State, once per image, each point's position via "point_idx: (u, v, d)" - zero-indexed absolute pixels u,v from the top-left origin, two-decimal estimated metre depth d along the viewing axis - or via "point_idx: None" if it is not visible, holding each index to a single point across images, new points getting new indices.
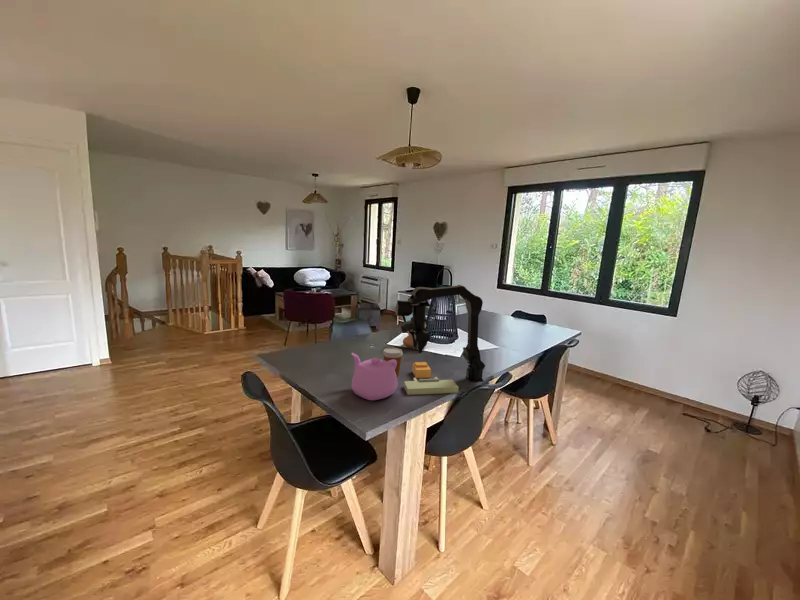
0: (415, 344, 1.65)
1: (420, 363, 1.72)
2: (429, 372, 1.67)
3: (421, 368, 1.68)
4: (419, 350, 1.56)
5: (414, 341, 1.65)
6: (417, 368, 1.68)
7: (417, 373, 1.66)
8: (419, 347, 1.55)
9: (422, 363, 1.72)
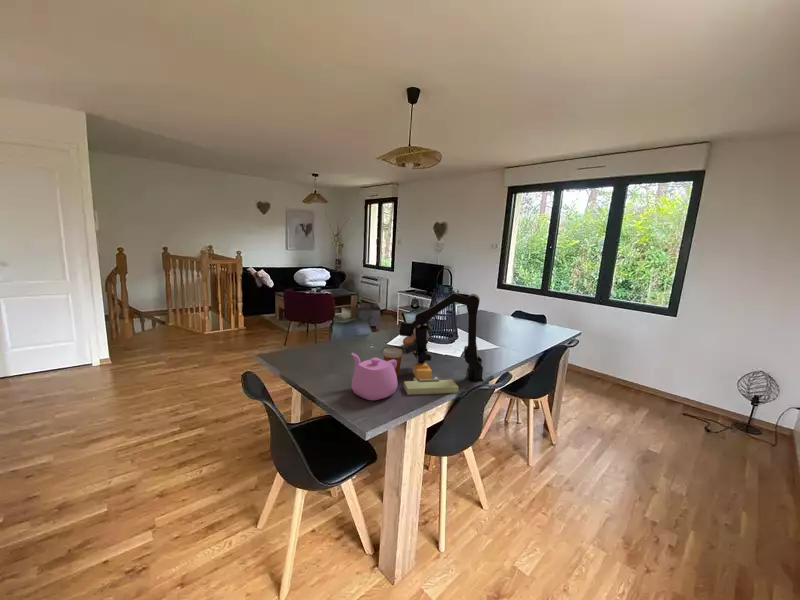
0: None
1: (421, 364, 1.71)
2: (430, 373, 1.66)
3: (422, 369, 1.67)
4: None
5: None
6: (418, 369, 1.67)
7: (418, 374, 1.65)
8: None
9: (423, 364, 1.71)
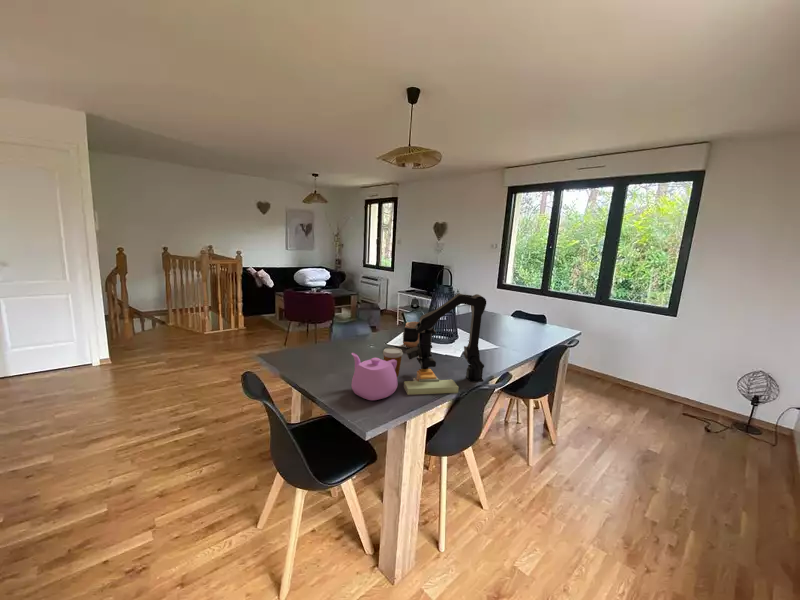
0: None
1: (425, 370, 1.63)
2: None
3: (426, 375, 1.60)
4: None
5: None
6: (422, 375, 1.59)
7: None
8: None
9: (427, 370, 1.64)
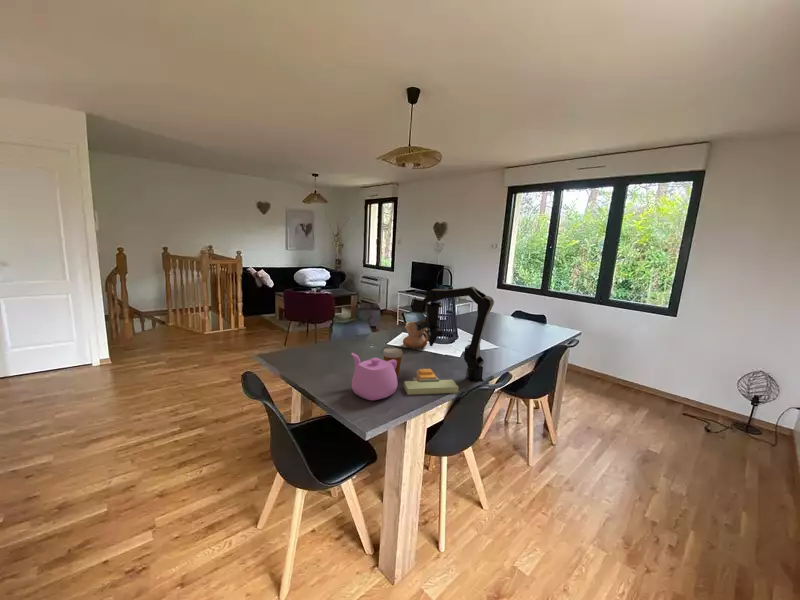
0: None
1: (425, 370, 1.63)
2: None
3: (426, 375, 1.60)
4: (430, 343, 1.76)
5: None
6: (422, 375, 1.59)
7: None
8: (431, 340, 1.75)
9: (427, 370, 1.64)
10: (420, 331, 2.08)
